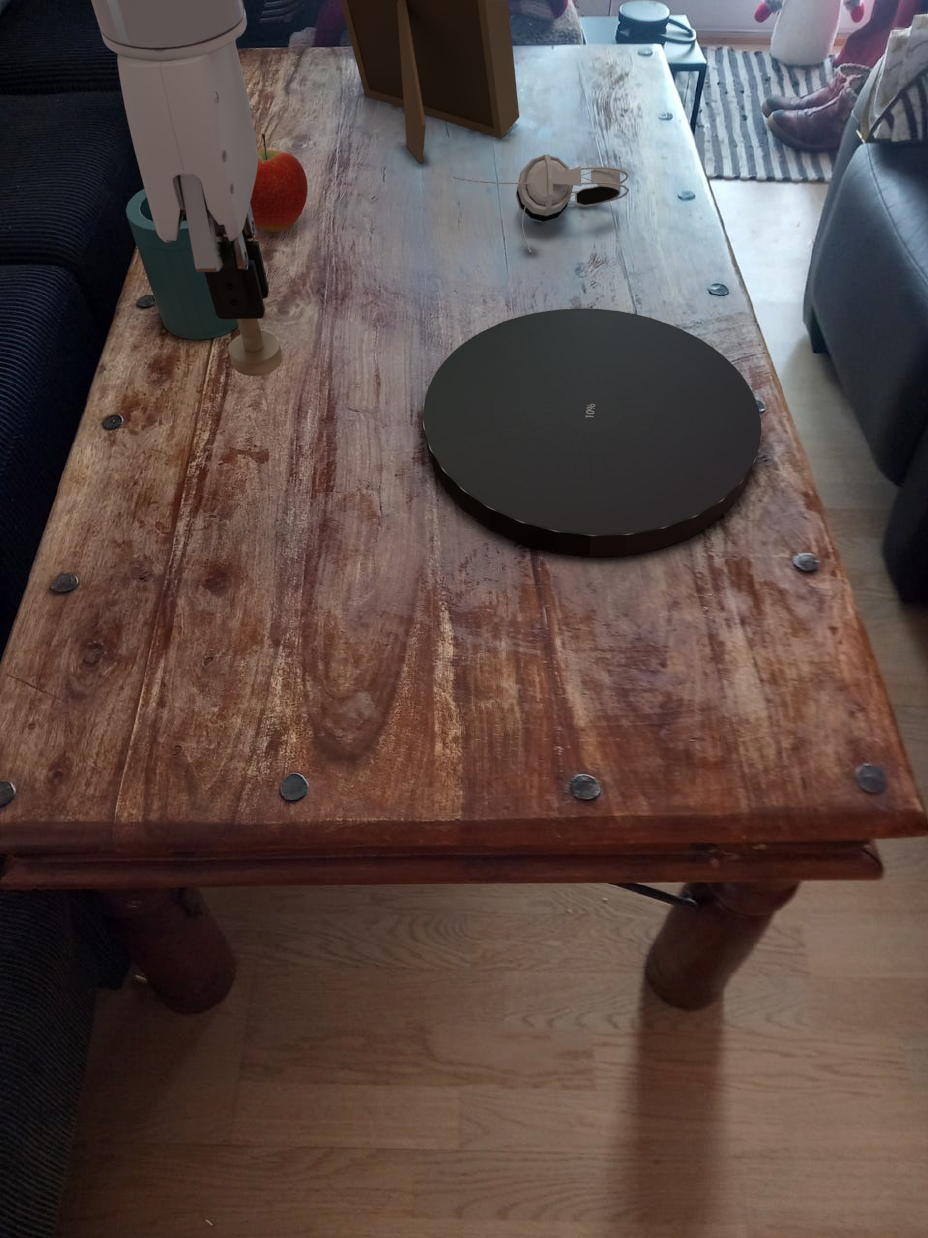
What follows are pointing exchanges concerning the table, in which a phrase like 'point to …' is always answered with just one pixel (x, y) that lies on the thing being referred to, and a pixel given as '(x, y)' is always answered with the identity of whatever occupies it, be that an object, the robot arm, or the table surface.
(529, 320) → the disc
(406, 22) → the photo frame
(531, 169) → the headphones
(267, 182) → the apple
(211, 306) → the jar
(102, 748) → the table surface
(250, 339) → the rod on round base
